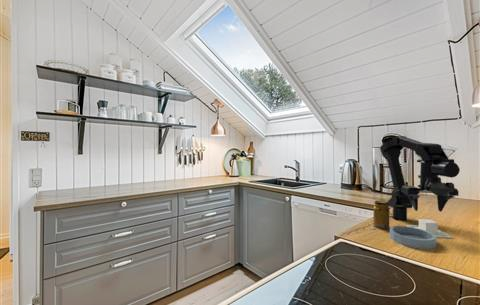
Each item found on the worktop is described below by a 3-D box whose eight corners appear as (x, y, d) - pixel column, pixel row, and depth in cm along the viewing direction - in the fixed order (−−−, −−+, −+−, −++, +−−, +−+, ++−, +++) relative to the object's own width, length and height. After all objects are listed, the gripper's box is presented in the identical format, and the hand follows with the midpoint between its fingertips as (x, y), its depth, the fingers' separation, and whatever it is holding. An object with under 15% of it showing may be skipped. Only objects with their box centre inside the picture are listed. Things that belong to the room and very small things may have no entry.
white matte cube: (418, 229, 97) (418, 219, 97) (429, 229, 97) (430, 219, 97) (425, 233, 93) (425, 222, 93) (437, 234, 92) (437, 223, 92)
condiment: (374, 224, 105) (374, 198, 105) (396, 228, 100) (396, 201, 99) (370, 228, 100) (370, 201, 100) (393, 233, 94) (393, 205, 94)
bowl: (382, 233, 94) (383, 225, 94) (419, 235, 93) (419, 226, 92) (402, 249, 80) (402, 239, 80) (446, 251, 79) (446, 241, 79)
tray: (406, 227, 102) (406, 225, 101) (430, 228, 100) (430, 225, 100) (424, 238, 90) (424, 235, 90) (452, 239, 88) (452, 236, 88)
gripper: (417, 176, 87) (416, 216, 88) (471, 177, 85) (470, 218, 86) (400, 172, 98) (399, 208, 99) (448, 173, 96) (447, 209, 97)
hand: (428, 211), depth 95 cm, fingers open, 9 cm apart
